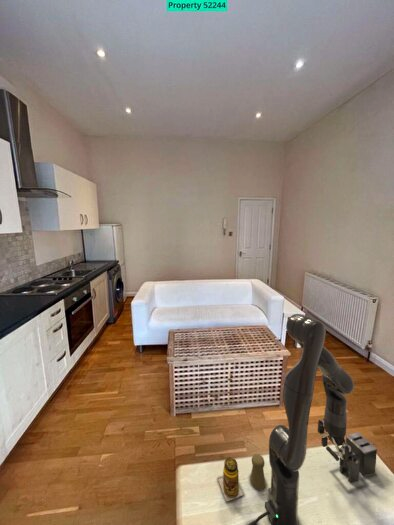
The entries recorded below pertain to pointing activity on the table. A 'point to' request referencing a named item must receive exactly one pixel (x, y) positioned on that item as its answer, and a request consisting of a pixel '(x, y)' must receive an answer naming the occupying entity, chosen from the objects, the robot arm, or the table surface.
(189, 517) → the table surface
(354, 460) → the switch bracket
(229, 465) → the condiment
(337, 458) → the switch lever
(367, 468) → the toaster body
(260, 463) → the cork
